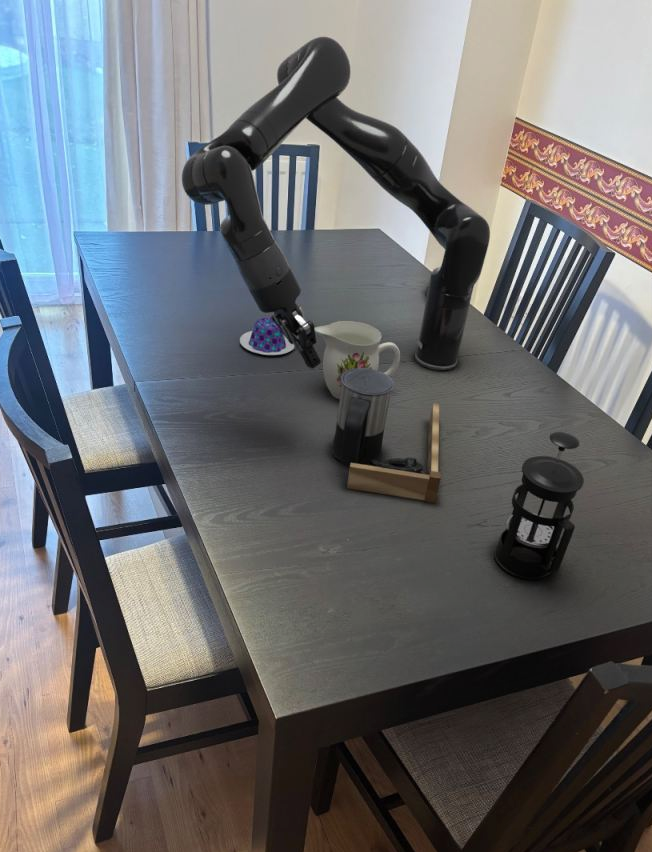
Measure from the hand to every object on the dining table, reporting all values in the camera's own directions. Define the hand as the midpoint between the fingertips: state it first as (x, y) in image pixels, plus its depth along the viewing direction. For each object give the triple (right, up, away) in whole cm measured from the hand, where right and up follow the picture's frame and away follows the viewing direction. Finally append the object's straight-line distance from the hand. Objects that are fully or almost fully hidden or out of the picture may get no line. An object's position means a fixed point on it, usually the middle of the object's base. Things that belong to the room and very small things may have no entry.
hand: (314, 365), depth 135 cm
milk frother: (+11, -16, +6) cm, 20 cm away
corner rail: (+14, -15, +8) cm, 22 cm away
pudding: (-12, +11, +36) cm, 40 cm away
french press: (+34, -33, -11) cm, 49 cm away
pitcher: (+6, -1, +25) cm, 25 cm away
